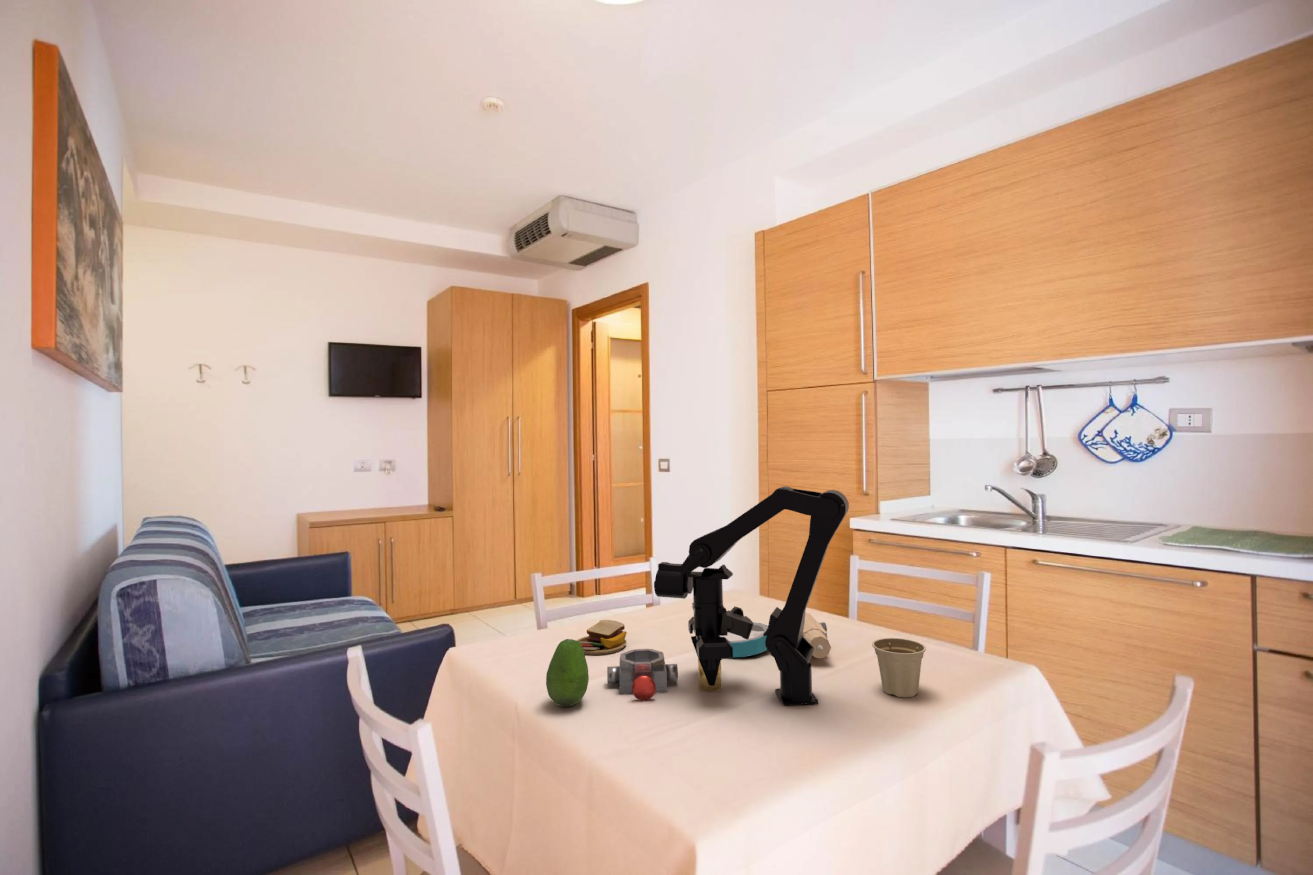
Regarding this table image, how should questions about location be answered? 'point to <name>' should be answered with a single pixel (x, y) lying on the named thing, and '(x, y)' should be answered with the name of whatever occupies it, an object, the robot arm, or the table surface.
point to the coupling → (703, 681)
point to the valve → (642, 673)
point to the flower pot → (899, 665)
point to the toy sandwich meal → (604, 638)
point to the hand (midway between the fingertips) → (710, 680)
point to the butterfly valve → (756, 641)
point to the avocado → (567, 674)
